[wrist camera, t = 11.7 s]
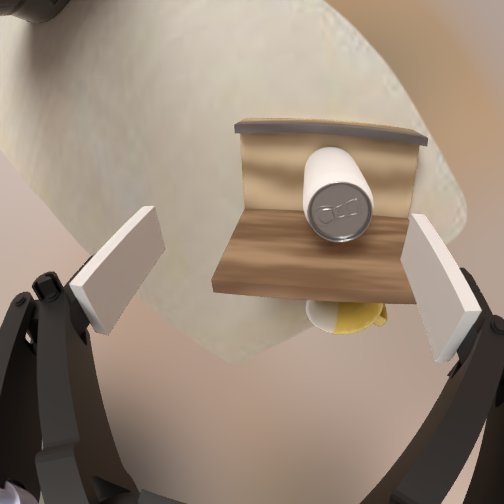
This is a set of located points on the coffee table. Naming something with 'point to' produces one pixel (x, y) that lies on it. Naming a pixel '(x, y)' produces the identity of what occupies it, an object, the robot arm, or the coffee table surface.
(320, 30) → the coffee table surface
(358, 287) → the brown piece
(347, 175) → the can
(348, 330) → the mug
